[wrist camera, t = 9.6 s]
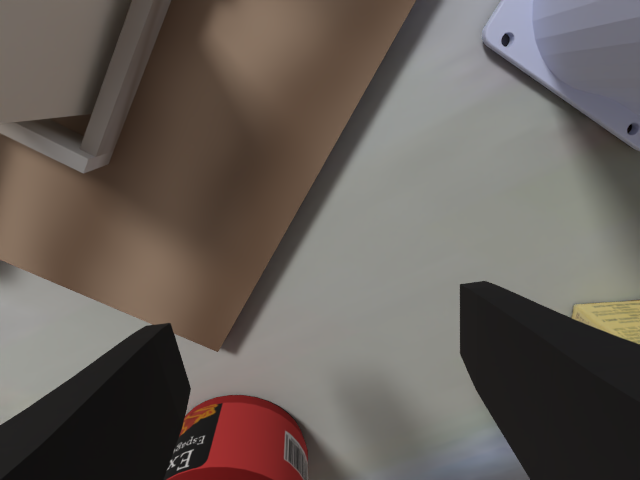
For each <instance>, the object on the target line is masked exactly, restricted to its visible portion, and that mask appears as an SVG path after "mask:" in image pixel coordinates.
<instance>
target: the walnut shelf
mask: <svg viewBox="0 0 640 480" xmlns="http://www.w3.org/2000/svg"><path fill="white" fill-rule="evenodd" d="M415 1H416V0H131V3H130V6H129V9H128V12H127V15H126V19H125V22H124V25H123V28H122V30H121V33H120V36H119V39H118V42H117V45H116V47H115V50H114V53H113V56H112V59H111V61H110V64H109V67H108V70H107V73H106V76H105V78H104V81H103V84H102V87H101V90H100V93H99V95H98V98H97V101H96V104H95V107H94V109H93V112H92V114H86V115H77V116H68V117H58V118H49V119H40V120H30V121H21V122H12V123H2V124H0V260H2V261H4V262H6V263H9V264H11V265H14V266H16V267H18V268H21V269H23V270H25V271H28V272H30V273H32V274H35V275H37V276H40V277H42V278H44V279H47V280H49V281H51V282H54V283H56V284H58V285H61V286H63V287H66V288H68V289H70V290H73V291H75V292H77V293H80V294H82V295H84V296H87V297H89V298H92V299H94V300H96V301H99V302H101V303H103V304H106V305H108V306H110V307H113V308H115V309H118V310H120V311H122V312H125V313H127V314H129V315H132V316H134V317H136V318H139V319H141V320H144V321H146V322H148V323H151V324H153V325H157V324H164V323H171V326H172V329H173V332H174V334H177V335H179V336H181V337H184V338H186V339H188V340H191V341H193V342H196V343H198V344H200V345H203V346H205V347H207V348H210V349H212V350H214V351H217V352H218V351H219V349H220V348H221V346H222V344H223V342H224V340H225V339H226V337H227V335H228V333H229V332H230V330H231V328H232V326H233V324H234V323H235V321H236V319H237V317H238V316H239V314H240V312H241V310H242V308H243V307H244V305H245V303H246V301H247V300H248V298H249V296H250V294H251V293H252V291H253V289H254V287H255V285H256V284H257V282H258V280H259V278H260V277H261V275H262V273H263V271H264V269H265V268H266V266H267V264H268V262H269V261H270V259H271V257H272V255H273V253H274V252H275V250H276V248H277V246H278V245H279V243H280V241H281V239H282V237H283V236H284V234H285V232H286V230H287V229H288V227H289V225H290V223H291V221H292V220H293V218H294V216H295V214H296V213H297V211H298V209H299V207H300V205H301V204H302V202H303V200H304V198H305V197H306V195H307V193H308V191H309V189H310V188H311V186H312V184H313V182H314V181H315V179H316V177H317V175H318V174H319V172H320V170H321V168H322V166H323V165H324V163H325V161H326V159H327V158H328V156H329V154H330V152H331V150H332V149H333V147H334V145H335V143H336V142H337V140H338V138H339V136H340V134H341V133H342V131H343V129H344V127H345V126H346V124H347V122H348V120H349V118H350V117H351V115H352V113H353V111H354V110H355V108H356V106H357V104H358V102H359V101H360V99H361V97H362V95H363V94H364V92H365V90H366V88H367V86H368V85H369V83H370V81H371V79H372V78H373V76H374V74H375V72H376V71H377V69H378V67H379V65H380V63H381V62H382V60H383V58H384V56H385V55H386V53H387V51H388V49H389V47H390V46H391V44H392V42H393V40H394V39H395V37H396V35H397V33H398V31H399V30H400V28H401V26H402V24H403V23H404V21H405V19H406V17H407V15H408V14H409V12H410V10H411V8H412V7H413V5H414V3H415Z"/></svg>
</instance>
